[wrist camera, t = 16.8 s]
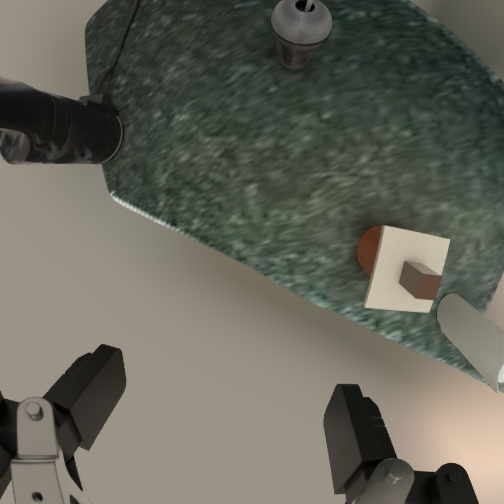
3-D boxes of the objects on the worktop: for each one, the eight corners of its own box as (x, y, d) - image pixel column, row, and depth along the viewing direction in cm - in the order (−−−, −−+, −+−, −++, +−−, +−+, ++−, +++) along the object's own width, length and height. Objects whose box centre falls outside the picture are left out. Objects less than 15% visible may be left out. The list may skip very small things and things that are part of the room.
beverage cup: (260, 54, 35) (253, -23, 16) (295, 32, 34) (310, -47, 14) (291, 86, 36) (308, 19, 17) (327, 62, 35) (364, -7, 16)
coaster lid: (382, 224, 31) (403, 234, 25) (447, 238, 31) (472, 249, 25) (363, 305, 34) (377, 327, 28) (426, 310, 34) (446, 329, 28)
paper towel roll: (451, 286, 43) (521, 341, 22) (463, 303, 43) (527, 358, 23) (426, 315, 44) (488, 382, 24) (440, 330, 45) (497, 394, 25)
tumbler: (362, 220, 41) (387, 233, 31) (408, 229, 41) (440, 243, 31) (351, 273, 43) (371, 298, 34) (396, 279, 43) (423, 303, 33)
